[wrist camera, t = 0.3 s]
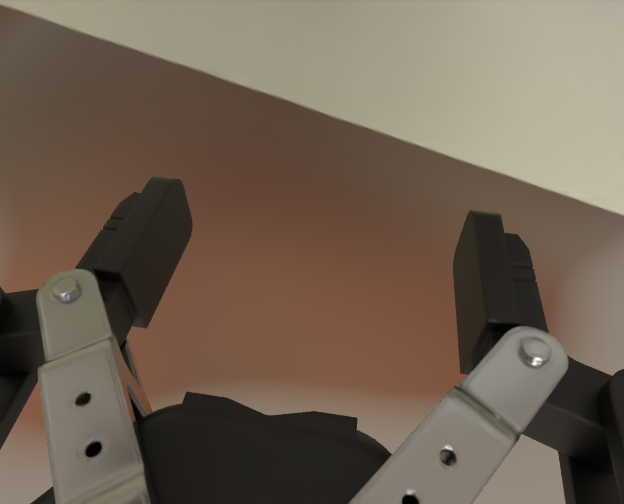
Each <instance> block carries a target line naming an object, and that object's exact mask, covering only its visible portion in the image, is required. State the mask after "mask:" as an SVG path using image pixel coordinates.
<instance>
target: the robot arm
mask: <svg viewBox="0 0 624 504" xmlns="http://www.w3.org/2000/svg"><path fill="white" fill-rule="evenodd" d="M191 232H192V217H191V213H190V209H189V205H188V201H187V198H186V194H185V190H184V186H183V183H182V181H181V180H180V179H174V178H165V177H152V178H151V179H150V180H149V181H148V183H147V184H146V186H145V188H144V189H143V191H142V192H141V193H136V192H134V193H133V194H132V195H130V196H129V197H127V198H126V199H124V200H123V201H122V202H120V203H119V205H118V206H117V208H116V209H115V210H114V212H113V213H112V215H111V218H110V219H108V221H107V222H106V224H105V225H104V227H103V230H101V231H100V233H99V234H98V236H97V237H96V238H95V240H94V241H93V243H92V244H91V246H90V247H89V249H88V250H87V252H86V253H85V254H84V256H83V257H82V259H81V260H80V262H79V263H78V265H77V266H76V268H75V269H70V270H66V271H62V272H60V273H58V274H56V275H54V276H52V277H51V278H49V279H48V280H47V281H46V282H44V283H43V285H42V286H41V287H40V289H35V290H28V291H21V292H13V293H5V292H4V291H3V290H2V288H1V287H0V449H1V447H2V445H3V444H4V442H5V440H6V438H7V436H8V435H9V433H10V431H11V429H12V427H13V425H14V423H15V422H16V420H17V418H18V416H19V415H20V413H21V411H22V409H23V407H24V406H25V404H26V402H27V400H28V398H29V396H30V395H31V393H32V391H33V389H34V387H35V386H36V384H37V382H38V381H39V388H40V395H41V402H42V409H43V416H44V423H45V431H46V438H47V445H48V452H49V459H50V466H51V474H52V480H53V487H51V488H50V489H49V490H47V491H46V492H45V493H44V494H42V495H41V496H40V497H38V498H37V499H36V500H35V501H34V502H32V503H31V504H472V503H473V502H474V501H475V499H476V498H477V496H478V495H479V494H480V492H481V491H482V490H483V488H484V487H485V485H486V484H487V483H488V481H489V480H490V479H491V477H492V476H493V474H494V473H495V472H496V470H497V469H498V468H499V466H500V465H501V463H502V462H503V461H504V459H505V458H506V456H507V455H508V454H509V452H510V451H511V450H512V448H513V447H514V445H515V444H516V443H517V441H518V440H519V437H520V435H521V434H523V435H526V436H528V437H530V438H532V439H534V440H536V441H539V442H540V443H543V444H545V445H547V446H549V447H551V448H553V449H555V450H557V451H558V454H559V461H560V468H561V475H562V482H563V488H564V495H565V501H566V504H624V369H622V370H620V371H618V372H616V373H615V374H614V375H613V376H611V375H609V374H606V373H604V372H601V371H599V370H596V369H594V368H592V367H589V366H587V365H584V364H582V363H580V362H578V361H575V360H574V359H572V358H570V357H569V356H568V355H567V354H566V351H565V350H564V348H563V346H562V345H561V344H560V343H559V341H557V340H556V339H555V338H554V337H553V336H552V335H550V334H549V332H548V329H547V325H546V321H545V316H544V312H543V308H542V303H541V299H540V295H539V291H538V286H537V282H535V279H536V277H535V274H534V269H532V266H533V265H532V260H531V256H530V252H529V249H528V248H527V246H526V245H525V244H524V242H523V241H522V240H521V238H520V237H519V236H518V235H517V234H509V233H504V230H503V224H502V219H501V215H500V214H499V213H495V212H484V211H475V210H470V211H469V213H468V215H467V218H466V221H465V223H464V226H463V230H462V232H461V235H460V238H459V241H458V244H457V247H456V251H455V255H454V262H453V275H454V276H453V277H454V291H455V305H456V317H457V331H458V346H459V359H460V373H462V374H468V376H467V378H466V379H465V380H464V381H463V382H462V383H461V384H460V385H459V386H458V387H456V386H455V387H453V388H452V389H451V390H450V391H449V392H448V393H447V394H446V395H445V396H444V397H443V398H442V400H441V401H440V402H439V403H438V404H437V405H436V406H435V407H434V409H433V410H432V411H431V412H430V413H429V414H428V415H427V416H426V417H425V419H424V420H423V421H422V422H421V423H420V424H419V425H418V426H417V427H416V429H415V430H414V431H413V432H412V433H411V434H410V435H409V436H408V438H407V439H406V440H405V441H404V442H403V443H402V444H401V445H400V447H399V448H398V449H397V450H396V451H395V452H394V453H393V454H391V453H390V452H389V451H388V450H387V449H386V448H385V447H384V446H382V445H381V444H380V443H379V442H377V441H376V440H375V439H373V438H371V437H370V436H368V435H367V434H365V433H363V432H360V431H358V430H356V429H357V418H355V417H349V416H342V415H335V414H329V413H323V412H316V411H311V412H302V413H293V414H282V415H272V416H271V415H270V416H269V415H265V414H262V413H260V412H258V411H256V410H253V409H251V408H249V407H247V406H244V405H242V404H240V403H238V402H235V401H233V400H231V399H229V398H225V397H218V396H212V395H205V394H198V393H192V392H186V394H185V397H184V400H183V403H182V404H177V405H172V406H168V407H165V408H163V409H159V410H157V411H155V412H152V409H151V407H150V405H149V402H148V400H147V398H146V395H145V392H144V389H143V386H142V383H141V379H140V376H139V373H138V369H137V366H136V363H135V360H134V356H133V353H132V350H131V347H130V343H129V340H128V338H127V335H128V333H129V331H130V329H131V326H134V327H141V328H147V327H148V325H149V323H150V321H151V319H152V317H153V314H154V312H155V310H156V308H157V306H158V304H159V302H160V300H161V298H162V296H163V293H164V292H165V290H166V287H167V285H168V283H169V281H170V279H171V277H172V275H173V273H174V271H175V269H176V266H177V264H178V263H179V260H180V258H181V256H182V254H183V252H184V250H185V248H186V246H187V244H188V242H189V239H190V237H191Z"/></svg>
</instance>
